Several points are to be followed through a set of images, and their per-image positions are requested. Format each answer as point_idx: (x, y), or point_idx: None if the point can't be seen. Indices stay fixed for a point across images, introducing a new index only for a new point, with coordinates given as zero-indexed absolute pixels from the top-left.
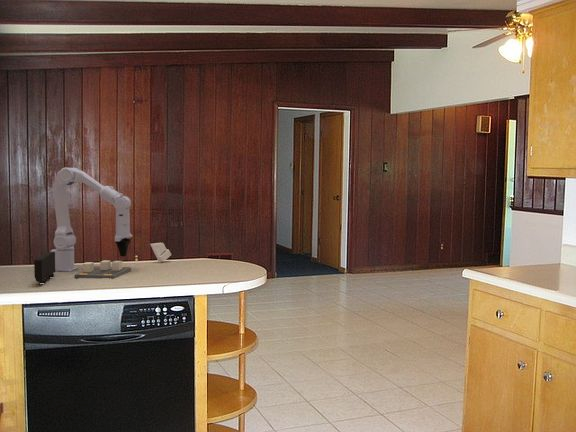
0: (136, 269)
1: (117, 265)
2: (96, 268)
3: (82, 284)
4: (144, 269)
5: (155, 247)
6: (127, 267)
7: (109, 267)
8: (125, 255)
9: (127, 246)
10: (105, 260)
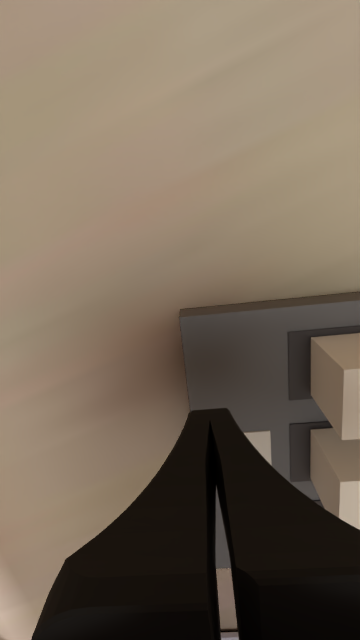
0: (113, 288)
1: None
2: None
3: None
4: (90, 220)
5: None
6: (202, 337)
7: None
8: (219, 411)
9: (199, 484)
10: (348, 522)
